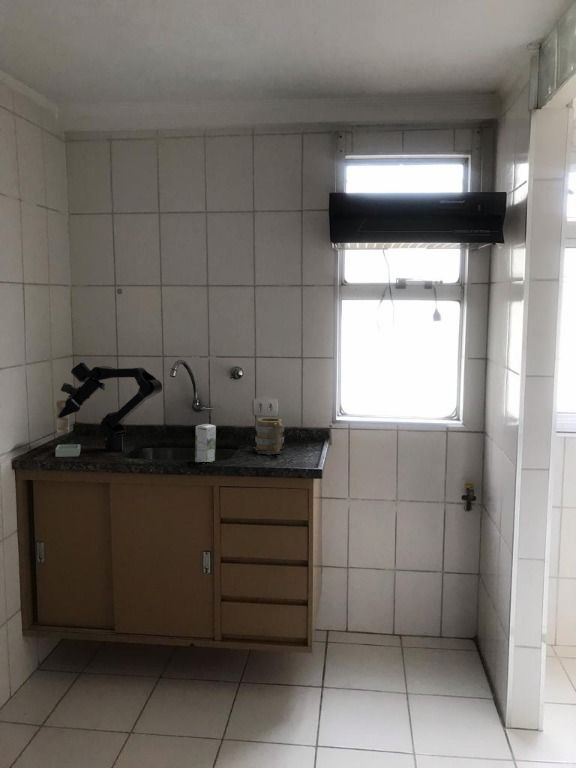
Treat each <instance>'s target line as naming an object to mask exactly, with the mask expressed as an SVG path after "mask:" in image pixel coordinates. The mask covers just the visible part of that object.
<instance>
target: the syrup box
mask: <svg viewBox="0 0 576 768" xmlns="http://www.w3.org/2000/svg"><path fill="white" fill-rule="evenodd" d="M216 429H217V425H214V424H210V423H204V424H200V425H196V426H195V438H194V439H195V443H194V444H195V445H194V449H195V450H194V462H195V463H199V462H210V463H214V462H215V461H216V438H217V436H216V435H217V433H216V432H217V430H216ZM213 461H214V462H213Z"/></svg>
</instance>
